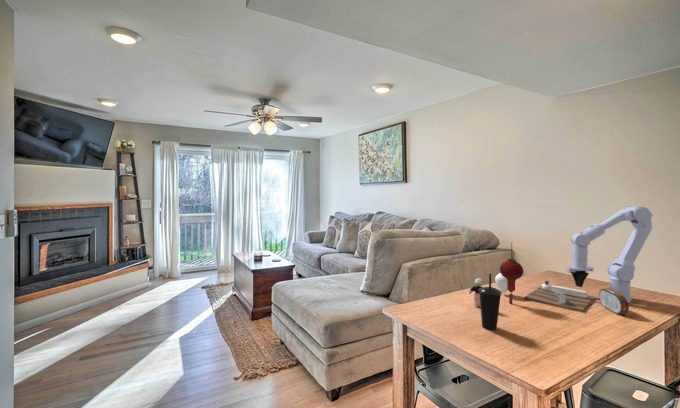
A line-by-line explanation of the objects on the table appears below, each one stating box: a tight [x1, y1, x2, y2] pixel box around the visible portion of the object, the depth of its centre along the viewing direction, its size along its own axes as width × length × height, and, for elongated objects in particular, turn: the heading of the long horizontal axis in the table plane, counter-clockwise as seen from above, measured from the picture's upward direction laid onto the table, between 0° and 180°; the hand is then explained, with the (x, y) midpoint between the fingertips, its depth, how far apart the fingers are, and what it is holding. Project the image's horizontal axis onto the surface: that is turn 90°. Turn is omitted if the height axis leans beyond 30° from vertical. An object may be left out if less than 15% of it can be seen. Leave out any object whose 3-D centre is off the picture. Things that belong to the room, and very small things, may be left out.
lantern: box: [499, 243, 524, 305], centre depth 139 cm, size 10×10×30 cm
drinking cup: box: [479, 272, 503, 331], centre depth 114 cm, size 8×8×20 cm
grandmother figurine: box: [468, 277, 484, 309], centre depth 135 cm, size 8×4×13 cm, turn 71°
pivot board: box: [523, 280, 595, 313], centre depth 146 cm, size 26×22×6 cm
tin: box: [598, 287, 630, 316], centre depth 132 cm, size 15×3×8 cm, turn 168°
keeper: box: [551, 288, 566, 305], centre depth 141 cm, size 10×2×4 cm, turn 162°
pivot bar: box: [541, 283, 588, 298], centre depth 151 cm, size 18×4×2 cm, turn 42°
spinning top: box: [494, 272, 508, 295], centre depth 152 cm, size 8×8×12 cm
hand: (579, 286), depth 151 cm, fingers closed
